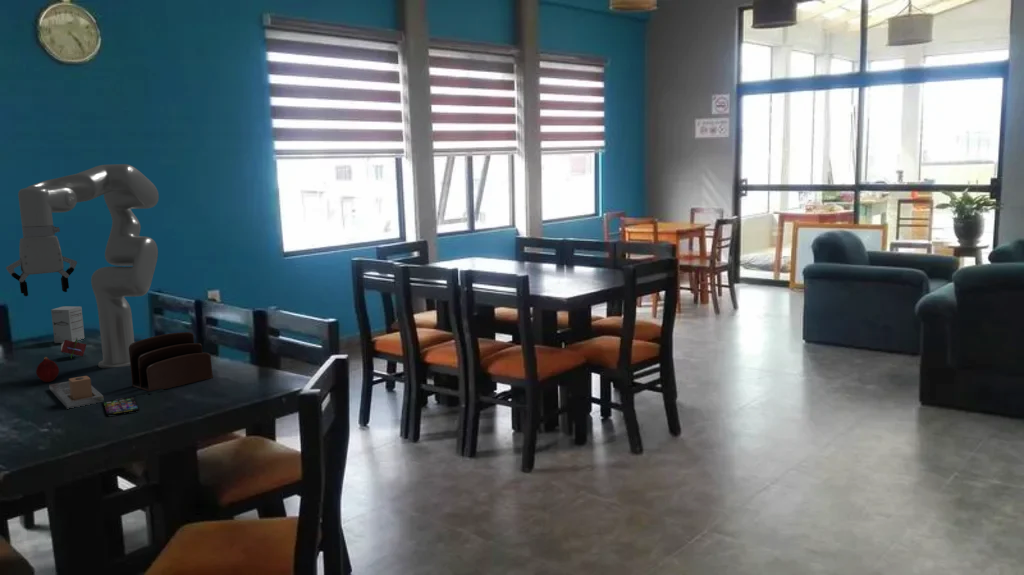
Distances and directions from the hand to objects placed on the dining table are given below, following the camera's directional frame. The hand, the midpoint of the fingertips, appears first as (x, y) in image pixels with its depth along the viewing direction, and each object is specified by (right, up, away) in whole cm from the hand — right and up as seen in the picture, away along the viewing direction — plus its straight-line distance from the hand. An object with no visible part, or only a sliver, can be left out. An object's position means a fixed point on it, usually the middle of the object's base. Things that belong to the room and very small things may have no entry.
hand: (45, 293), depth 231 cm
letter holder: (+32, -27, +11) cm, 43 cm away
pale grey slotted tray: (+10, -29, -2) cm, 30 cm away
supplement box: (-32, -18, +72) cm, 81 cm away
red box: (-16, -22, +47) cm, 54 cm away
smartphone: (+27, -31, -13) cm, 43 cm away
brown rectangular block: (+14, -29, -8) cm, 33 cm away
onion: (-7, -27, +14) cm, 31 cm away
